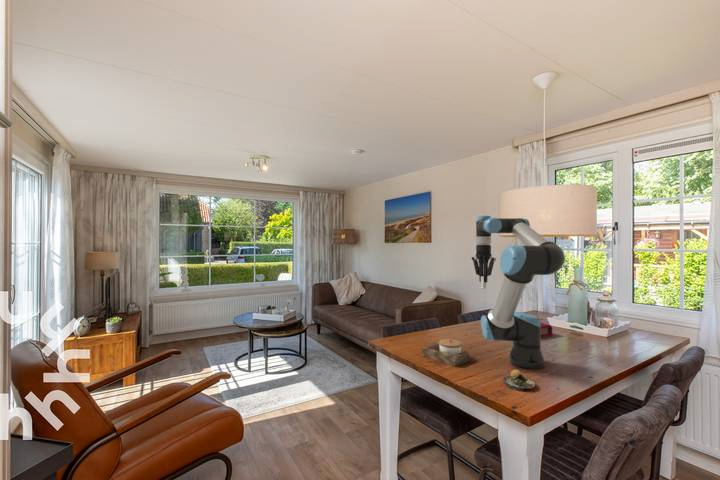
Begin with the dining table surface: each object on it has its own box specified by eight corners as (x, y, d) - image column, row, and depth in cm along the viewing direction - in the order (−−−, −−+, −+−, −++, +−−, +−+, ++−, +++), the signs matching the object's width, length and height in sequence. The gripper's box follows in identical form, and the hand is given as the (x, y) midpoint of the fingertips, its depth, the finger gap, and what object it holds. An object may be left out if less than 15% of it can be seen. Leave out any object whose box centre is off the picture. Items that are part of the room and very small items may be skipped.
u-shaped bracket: (468, 360, 158) (469, 352, 159) (455, 366, 151) (455, 358, 151) (436, 350, 173) (436, 343, 173) (421, 355, 165) (421, 347, 165)
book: (514, 325, 227) (514, 314, 227) (552, 336, 202) (552, 324, 202) (491, 328, 219) (491, 317, 219) (528, 340, 193) (528, 327, 193)
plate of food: (526, 395, 124) (526, 375, 124) (497, 384, 133) (497, 365, 133) (541, 387, 131) (541, 368, 131) (513, 377, 140) (513, 359, 140)
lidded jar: (464, 362, 157) (464, 342, 157) (441, 361, 157) (441, 342, 157) (457, 354, 167) (458, 335, 167) (436, 354, 168) (437, 335, 168)
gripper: (498, 244, 174) (498, 289, 174) (475, 244, 184) (475, 286, 184) (491, 244, 169) (491, 290, 169) (468, 244, 179) (468, 287, 179)
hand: (483, 288), depth 176 cm, fingers closed
